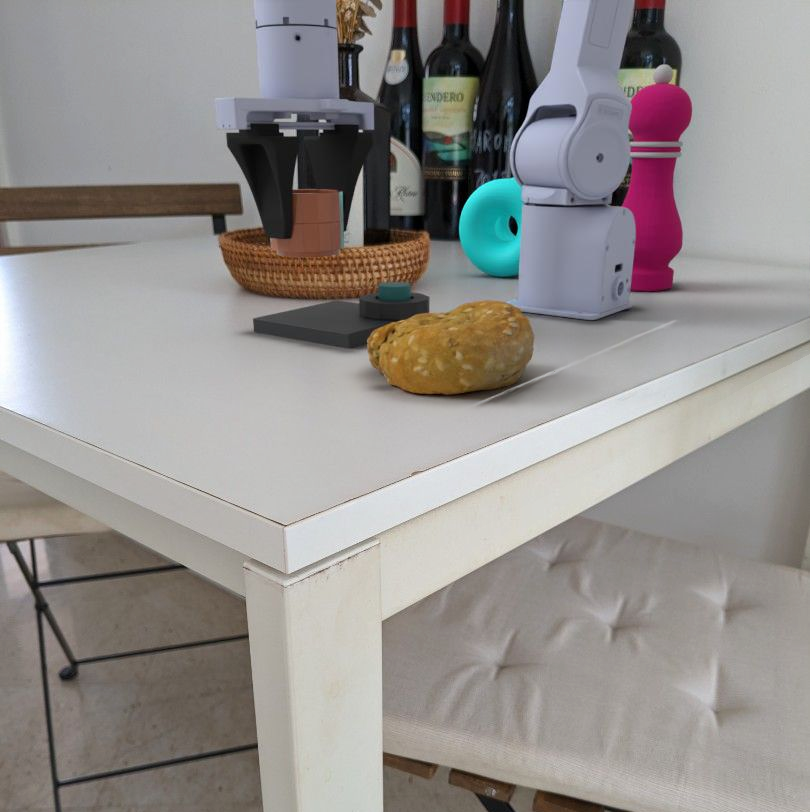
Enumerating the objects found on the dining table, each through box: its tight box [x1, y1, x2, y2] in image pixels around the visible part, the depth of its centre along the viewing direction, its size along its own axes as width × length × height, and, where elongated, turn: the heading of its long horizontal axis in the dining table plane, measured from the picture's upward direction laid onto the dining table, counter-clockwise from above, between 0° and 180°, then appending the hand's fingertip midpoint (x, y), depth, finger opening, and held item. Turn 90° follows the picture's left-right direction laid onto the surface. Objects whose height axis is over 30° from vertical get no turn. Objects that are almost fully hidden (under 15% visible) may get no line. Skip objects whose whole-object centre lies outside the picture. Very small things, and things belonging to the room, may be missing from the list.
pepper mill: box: [621, 64, 693, 292], centre depth 84 cm, size 7×7×20 cm
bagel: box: [366, 299, 535, 396], centre depth 54 cm, size 10×11×5 cm
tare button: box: [377, 281, 412, 301], centre depth 68 cm, size 3×3×1 cm
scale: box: [252, 291, 430, 350], centre depth 68 cm, size 11×11×2 cm
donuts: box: [458, 176, 526, 278], centre depth 95 cm, size 10×10×10 cm
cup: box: [269, 188, 345, 258], centre depth 66 cm, size 6×6×4 cm
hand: (306, 234), depth 66 cm, fingers closed on cup, 5 cm apart
